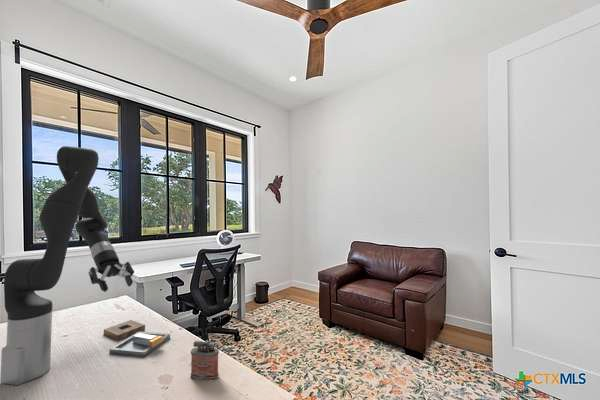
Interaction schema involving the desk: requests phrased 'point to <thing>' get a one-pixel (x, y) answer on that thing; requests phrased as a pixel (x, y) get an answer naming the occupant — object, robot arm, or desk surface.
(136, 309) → the desk surface
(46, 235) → the robot arm
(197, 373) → the lighter
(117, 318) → the desk surface
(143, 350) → the tray
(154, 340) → the key
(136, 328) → the socket plate
